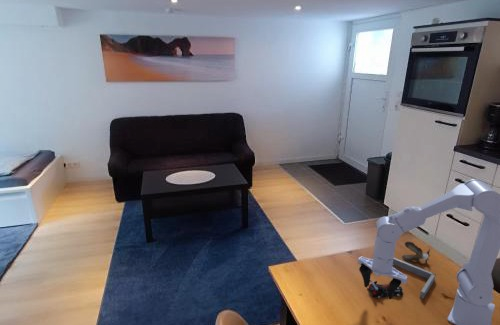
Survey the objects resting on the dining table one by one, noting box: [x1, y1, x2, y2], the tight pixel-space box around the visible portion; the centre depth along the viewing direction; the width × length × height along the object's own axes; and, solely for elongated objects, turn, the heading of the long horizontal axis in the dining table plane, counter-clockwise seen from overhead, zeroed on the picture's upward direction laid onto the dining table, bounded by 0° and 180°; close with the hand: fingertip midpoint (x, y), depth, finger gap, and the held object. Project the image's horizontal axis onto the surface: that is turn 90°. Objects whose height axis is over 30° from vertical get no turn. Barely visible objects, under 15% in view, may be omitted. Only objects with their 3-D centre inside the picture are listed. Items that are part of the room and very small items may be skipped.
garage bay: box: [393, 257, 436, 299], centre depth 111 cm, size 20×13×2 cm, turn 45°
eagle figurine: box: [401, 241, 431, 264], centre depth 120 cm, size 8×7×9 cm
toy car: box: [366, 279, 404, 299], centre depth 104 cm, size 6×12×4 cm, turn 96°
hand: (378, 291), depth 97 cm, fingers open, 7 cm apart
